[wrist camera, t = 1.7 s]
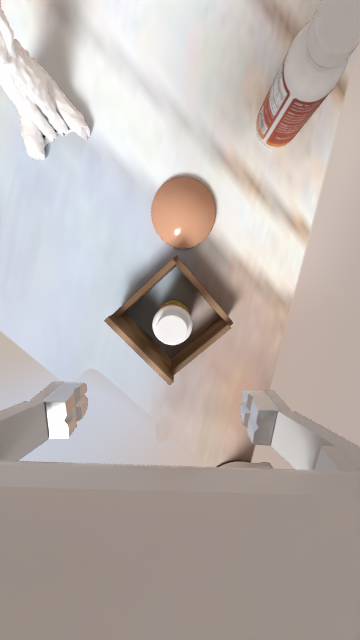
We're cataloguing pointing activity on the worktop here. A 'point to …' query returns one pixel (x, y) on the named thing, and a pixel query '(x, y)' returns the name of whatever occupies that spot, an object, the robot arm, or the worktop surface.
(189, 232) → the tan oval disc
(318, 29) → the pill bottle
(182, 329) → the supplement bottle
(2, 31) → the seated beast figurine
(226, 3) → the worktop surface
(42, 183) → the worktop surface
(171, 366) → the frame
